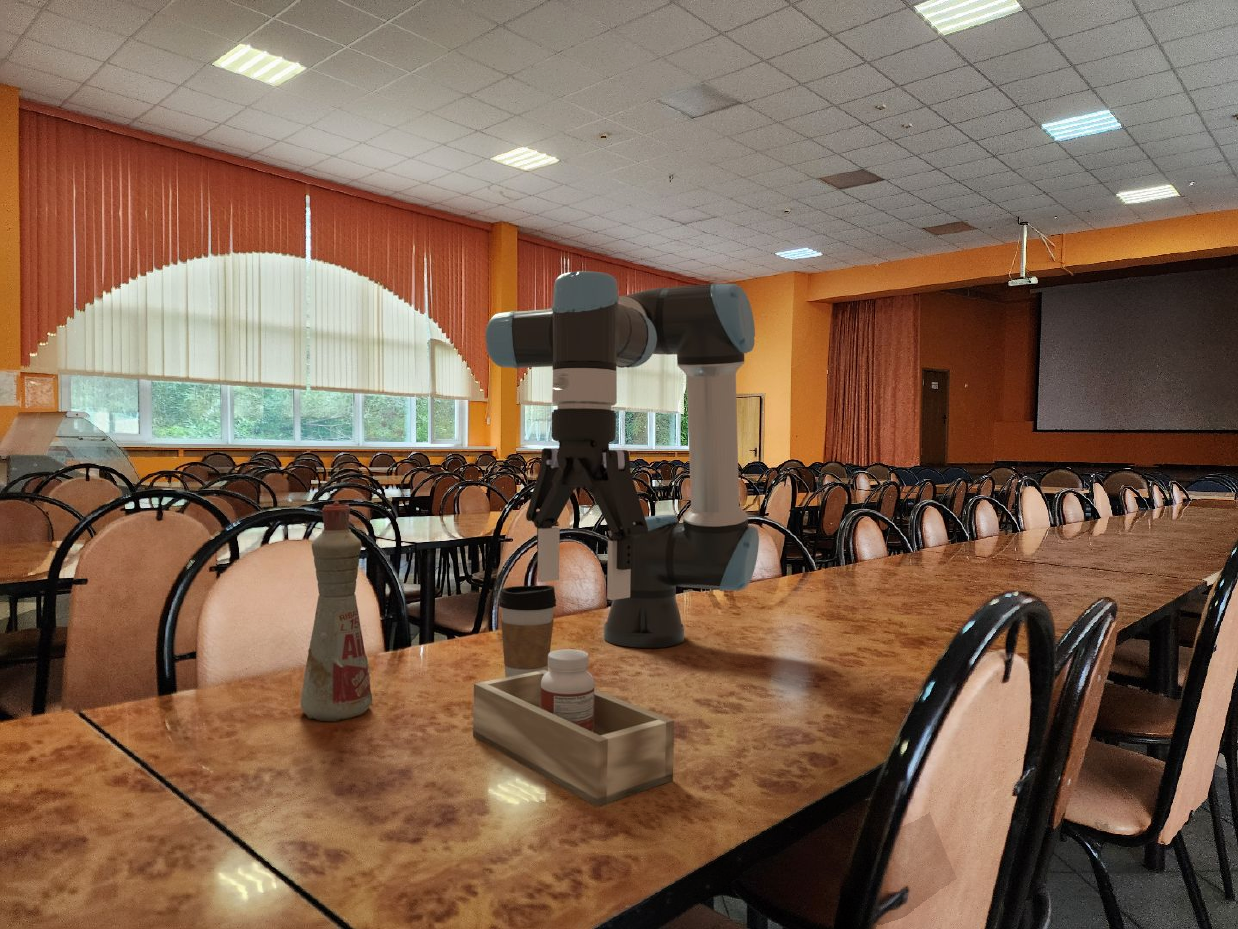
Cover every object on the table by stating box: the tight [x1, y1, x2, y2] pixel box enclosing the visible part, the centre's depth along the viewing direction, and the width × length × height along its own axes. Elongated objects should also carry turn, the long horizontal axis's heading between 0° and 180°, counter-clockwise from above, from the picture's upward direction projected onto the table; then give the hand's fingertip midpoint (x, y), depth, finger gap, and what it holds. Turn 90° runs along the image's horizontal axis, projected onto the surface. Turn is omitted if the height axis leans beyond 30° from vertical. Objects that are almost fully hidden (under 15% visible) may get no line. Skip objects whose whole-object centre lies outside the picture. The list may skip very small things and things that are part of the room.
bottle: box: [300, 500, 373, 723], centre depth 106 cm, size 9×9×28 cm
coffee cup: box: [498, 584, 557, 678], centre depth 118 cm, size 8×8×15 cm
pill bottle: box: [540, 648, 596, 732], centre depth 92 cm, size 6×6×11 cm
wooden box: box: [472, 670, 675, 808], centre depth 92 cm, size 10×24×6 cm, turn 40°
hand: (581, 589), depth 94 cm, fingers open, 13 cm apart
